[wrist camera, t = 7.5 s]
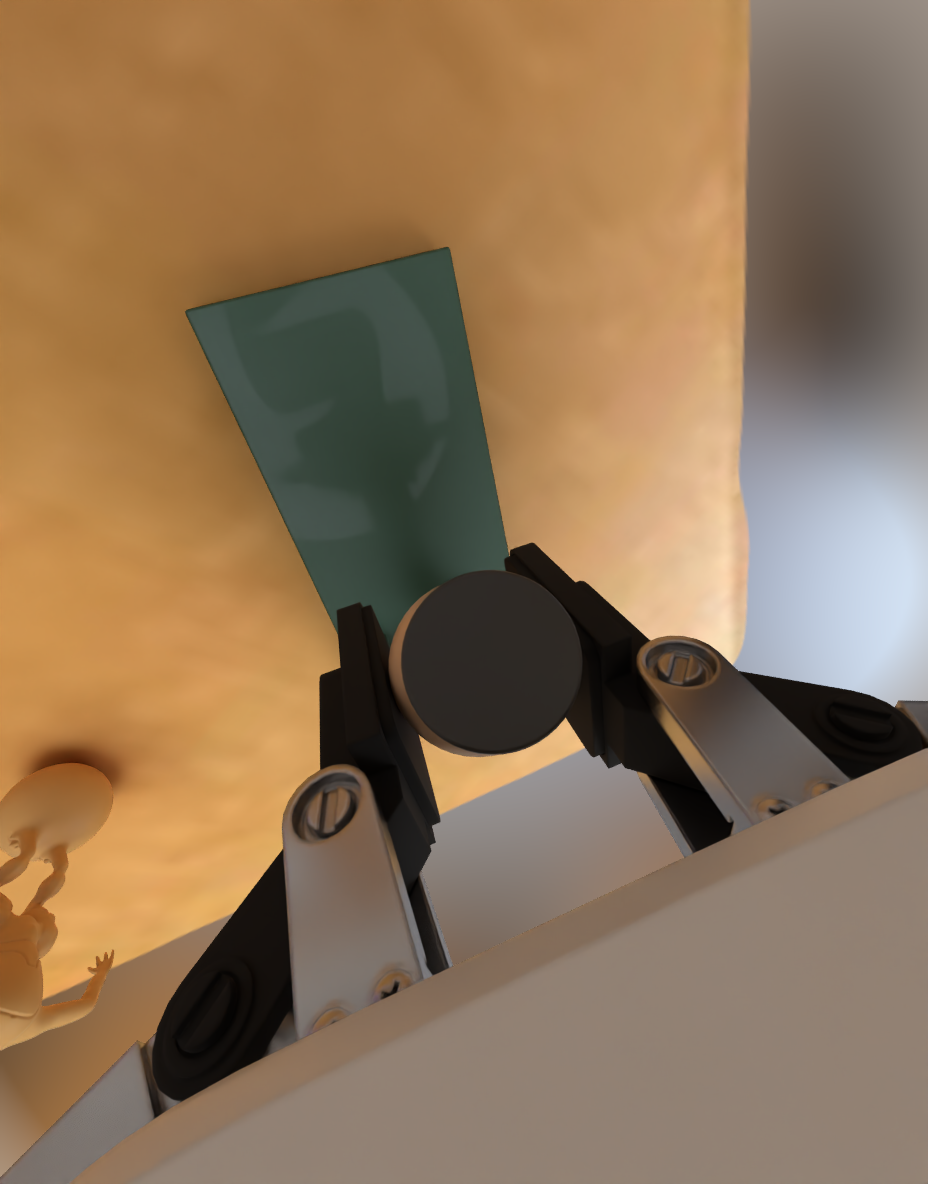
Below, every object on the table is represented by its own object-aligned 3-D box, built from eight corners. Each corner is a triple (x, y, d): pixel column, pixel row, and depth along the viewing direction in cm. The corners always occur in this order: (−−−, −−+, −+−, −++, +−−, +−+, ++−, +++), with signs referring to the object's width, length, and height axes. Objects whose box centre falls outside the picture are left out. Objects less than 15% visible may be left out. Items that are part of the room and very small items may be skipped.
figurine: (-44, 748, 19) (-465, 1185, 9) (75, 680, 19) (-208, 1037, 9) (113, 832, 24) (-49, 1191, 13) (210, 776, 24) (122, 1091, 13)
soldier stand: (192, 313, 15) (129, 290, 10) (442, 253, 16) (491, 206, 11) (366, 684, 24) (376, 765, 19) (517, 628, 25) (563, 692, 20)
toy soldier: (307, 594, 6) (384, 846, 5) (584, 502, 6) (681, 722, 6) (399, 653, 20) (422, 722, 19) (481, 624, 20) (505, 690, 20)
